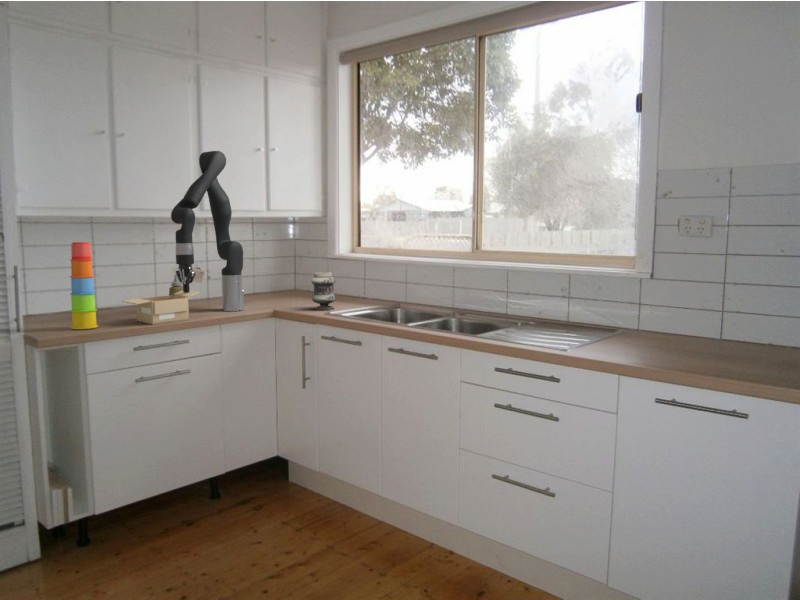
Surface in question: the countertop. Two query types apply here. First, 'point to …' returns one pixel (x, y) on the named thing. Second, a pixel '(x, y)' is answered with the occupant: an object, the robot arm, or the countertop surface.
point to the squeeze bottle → (175, 287)
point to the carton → (163, 310)
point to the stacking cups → (82, 287)
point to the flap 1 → (136, 301)
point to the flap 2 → (187, 293)
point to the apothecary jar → (323, 290)
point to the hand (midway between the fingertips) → (186, 292)
